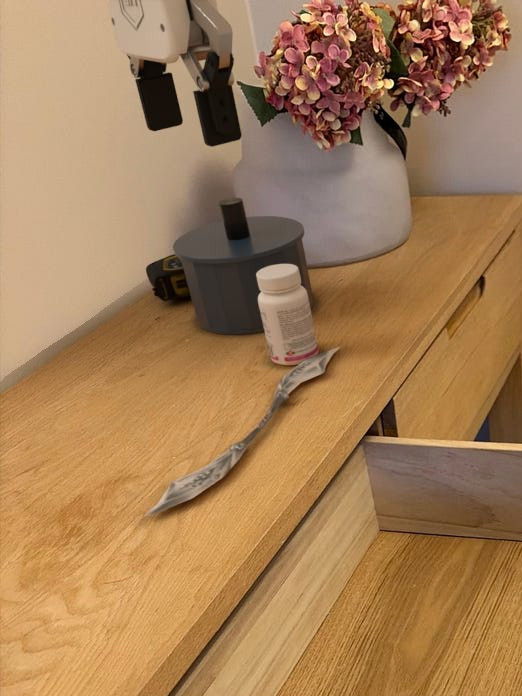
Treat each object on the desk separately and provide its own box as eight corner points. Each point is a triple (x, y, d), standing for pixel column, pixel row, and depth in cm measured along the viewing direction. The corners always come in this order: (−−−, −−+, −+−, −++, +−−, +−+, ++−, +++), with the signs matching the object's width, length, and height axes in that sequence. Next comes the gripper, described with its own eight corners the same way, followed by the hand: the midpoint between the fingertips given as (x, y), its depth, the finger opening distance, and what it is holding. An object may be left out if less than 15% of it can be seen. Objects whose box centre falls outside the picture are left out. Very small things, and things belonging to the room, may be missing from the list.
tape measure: (151, 291, 115) (141, 258, 113) (208, 278, 117) (200, 246, 115) (158, 309, 110) (148, 276, 108) (218, 296, 112) (210, 263, 110)
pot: (177, 316, 108) (157, 246, 104) (273, 282, 114) (258, 215, 110) (236, 344, 101) (217, 271, 96) (335, 306, 107) (323, 235, 102)
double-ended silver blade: (139, 519, 75) (196, 524, 74) (136, 512, 75) (194, 517, 73) (302, 347, 98) (348, 348, 97) (301, 341, 98) (347, 342, 97)
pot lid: (152, 253, 104) (139, 207, 101) (261, 218, 110) (252, 175, 108) (217, 279, 96) (205, 231, 93) (331, 241, 102) (323, 194, 99)
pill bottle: (327, 348, 98) (311, 262, 93) (305, 368, 95) (287, 280, 89) (285, 345, 100) (267, 261, 94) (262, 365, 96) (242, 278, 91)
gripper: (39, -113, 76) (107, 131, 86) (145, -119, 65) (207, 160, 76) (128, -122, 79) (183, 114, 90) (241, -128, 69) (288, 138, 80)
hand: (194, 134), depth 83 cm, fingers open, 9 cm apart
